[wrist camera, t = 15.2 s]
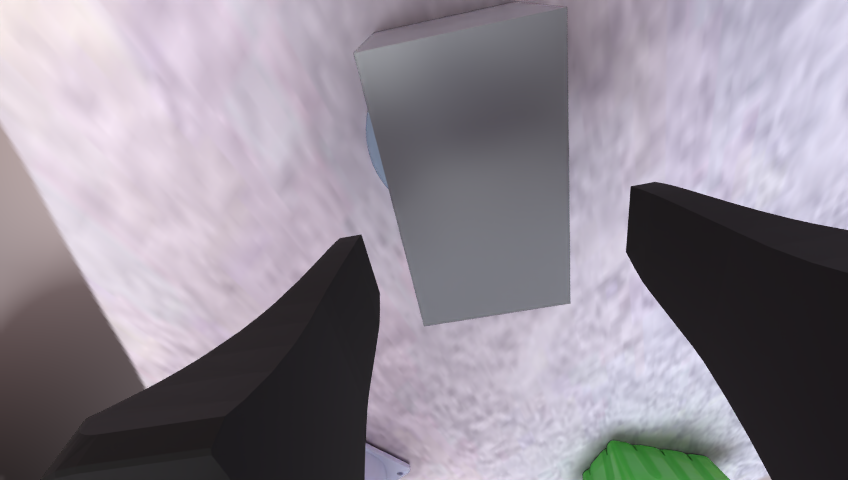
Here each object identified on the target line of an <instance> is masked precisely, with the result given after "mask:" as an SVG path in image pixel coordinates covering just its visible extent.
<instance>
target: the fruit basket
mask: <svg viewBox="0 0 848 480" xmlns="http://www.w3.org/2000/svg"><path fill="white" fill-rule="evenodd" d="M583 480H730V479H729V478H728V477H727V476H726V475H725V474H724V473H723V472H722V471H721V470H720V469H719V468H718V467H717V466H716V465H715V464H714V463H713V462H712V461H711V460H710V459H709V458H708V457H706V456H701V455H695V454H687V455H686V454H684V453H682V452H678V451H673V450H666V449H665V450H659V449H657V448H655V447H649V446H644V445H631V444H629V443H627V442H621V441H614V440H612V441H610V442H609V443H608V445H607V449H605V450H603V451H602V452H601V453H600V454H599V455H598V457H597V458H596V459H595V460H594V461H593V462H592V464H591V466H590V469H588V470H587V471H585V472H584V473H583Z"/></svg>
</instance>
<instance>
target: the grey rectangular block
mask: <svg viewBox="0 0 848 480" xmlns="http://www.w3.org/2000/svg"><path fill="white" fill-rule="evenodd" d="M354 57H355V61H356V65H357V69H358V72H359V76H360V80H361V84H362V88H363V92H364V96H365V100H366V103H367V107H368V111H369V115H370V119H371V123H372V127H373V130H374V134H375V138H376V142H377V146H378V150H379V154H380V158H381V161H382V165H383V169H384V173H385V177H386V181H387V185H388V188H389V192H390V196H391V200H392V204H393V208H394V212H395V216H396V219H397V223H398V227H399V231H400V235H401V239H402V243H403V246H404V250H405V254H406V258H407V262H408V266H409V270H410V274H411V277H412V281H413V285H414V289H415V293H416V297H417V301H418V304H419V308H420V312H421V316H422V320H423V324H424V326H430V325H436V324H442V323H449V322H455V321H462V320H468V319H474V318H481V317H487V316H493V315H500V314H506V313H512V312H519V311H525V310H532V309H538V308H544V307H551V306H557V305H563V304H570V230H569V141H568V53H567V7H562V6H553V5H543V4H534V3H525V2H512V3H507V4H503V5H498V6H494V7H489V8H485V9H480V10H476V11H471V12H466V13H462V14H457V15H453V16H448V17H444V18H439V19H434V20H430V21H425V22H421V23H416V24H412V25H407V26H403V27H398V28H393V29H389V30H384V31H380V32H375V33H373V34H372V35H371V36H370V37H369V38H368V39H367V40H366V41H365V42H364V43H363V44H362V45H361V46H360V47H359V48H358V49H357V50H356V51H355V52H354Z"/></svg>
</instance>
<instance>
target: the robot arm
mask: <svg viewBox="0 0 848 480" xmlns="http://www.w3.org/2000/svg"><path fill="white" fill-rule="evenodd" d="M626 253H627V255H628V256H629V258H630V260H631V262H632V264H633V266H634V268H635V270H636V271H637V273H638V275H639V276H640V278H641V280H642V282H643V283H644V284H645V286H646V287H647V288H648V290H649V291H650V292H651V294H652V295H653V296H654V298H655V299H656V300H657V301H658V303H659V304H660V305H661V307H662V308H663V309H664V310H665V312H666V313H667V314H668V315H669V317H670V318H671V319H672V321H673V322H674V323H675V324H676V326H677V327H678V328H679V329H680V331H681V332H682V333H683V335H684V336H685V337H686V338H687V340H688V341H689V342H690V344H691V345H692V346H693V347H694V349H695V350H696V352H697V353H698V354H699V356H700V357H701V359H702V360H703V361H704V363H705V364H706V366H707V368H708V369H709V371H710V372H711V374H712V376H713V377H714V379H715V381H716V382H717V384H718V385H719V387H720V389H721V390H722V392H723V394H724V395H725V397H726V398H727V400H728V402H729V404H730V405H731V407H732V409H733V411H734V412H735V414H736V416H737V417H738V419H739V421H740V423H741V424H742V426H743V428H744V430H745V431H746V433H747V435H748V436H749V438H750V440H751V442H752V444H753V446H754V448H755V449H756V451H757V453H758V455H759V457H760V459H761V461H762V462H763V464H764V466H765V468H766V470H767V472H768V474H769V475H770V477H771V479H772V480H848V230H844V229H839V228H833V227H828V226H823V225H818V224H813V223H808V222H803V221H799V220H794V219H790V218H786V217H782V216H778V215H774V214H770V213H766V212H762V211H758V210H755V209H751V208H748V207H744V206H740V205H737V204H734V203H730V202H727V201H723V200H720V199H717V198H713V197H710V196H707V195H703V194H700V193H697V192H693V191H690V190H687V189H683V188H679V187H676V186H672V185H668V184H664V183H658V182H653V183H647V184H642V185H636V186H631V191H630V205H629V219H628V232H627V246H626ZM379 321H380V292H379V289H378V286H377V283H376V280H375V276H374V273H373V270H372V267H371V264H370V261H369V257H368V254H367V251H366V248H365V245H364V242H363V239H362V235H356V236H351V237H345V238H340V239H339V240H338V241H336V242H335V243H334V244H333V245H332V246H331V247H330V248H329V249H328V250H327V251H326V253H325V254H324V255H323V256H322V257H321V258H320V259H319V260H318V261H317V262H316V263H315V264H314V265H313V266H312V267H311V268H310V269H309V271H308V272H307V273H306V274H305V275H304V276H303V277H302V278H301V279H300V280H299V281H298V282H297V283H296V284H295V285H294V286H292V287H291V288H290V289H289V290H288V291H287V292H286V293H285V294H284V295H283V296H282V297H281V298H280V299H279V300H278V301H277V302H276V303H274V304H273V305H272V306H271V307H270V308H269V309H268V310H266V311H265V312H264V313H263V314H262V315H260V316H259V317H258V318H257V319H255V320H254V321H253V322H251V323H250V324H249V325H248V326H246V327H245V328H244V329H242V330H241V331H240V332H238V333H237V334H235V335H234V336H232V337H231V338H230V339H228V340H227V341H225V342H224V343H222V344H221V345H219V346H218V347H216V348H215V349H213V350H212V351H210V352H209V353H207V354H206V355H204V356H203V357H201V358H200V359H198V360H196V361H195V362H193V363H191V364H190V365H188V366H186V367H185V368H183V369H181V370H180V371H178V372H176V373H174V374H173V375H171V376H169V377H167V378H166V379H164V380H162V381H160V382H158V383H157V384H155V385H153V386H151V387H149V388H147V389H145V390H143V391H142V392H139V393H137V394H135V395H133V396H131V397H129V398H127V399H125V400H123V401H121V402H119V403H117V404H115V405H113V406H111V407H109V408H107V409H105V410H103V411H101V412H99V413H97V414H95V415H92V416H90V417H88V418H87V419H86V420H85V421H84V422H83V423H82V424H81V426H80V427H79V428H78V430H77V431H76V432H75V434H74V435H73V436H72V438H71V439H70V440H69V442H68V443H67V444H66V446H65V447H64V448H63V450H62V451H61V453H60V454H59V455H58V456H57V458H56V459H55V461H54V462H53V463H52V465H51V466H50V467H49V468H48V470H47V471H46V472H45V474H44V475H43V476H42V478H41V479H40V480H398V479H400V478H401V477H403V476H404V475H406V474H408V473H409V472H410V465H409V464H407V463H405V462H403V461H401V460H399V459H397V458H395V457H393V456H391V455H389V454H387V453H385V452H383V451H381V450H379V449H377V448H375V447H373V446H371V445H369V444H367V443H366V423H367V407H368V397H369V390H370V383H371V377H372V370H373V364H374V357H375V351H376V344H377V337H378V331H379Z"/></svg>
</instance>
